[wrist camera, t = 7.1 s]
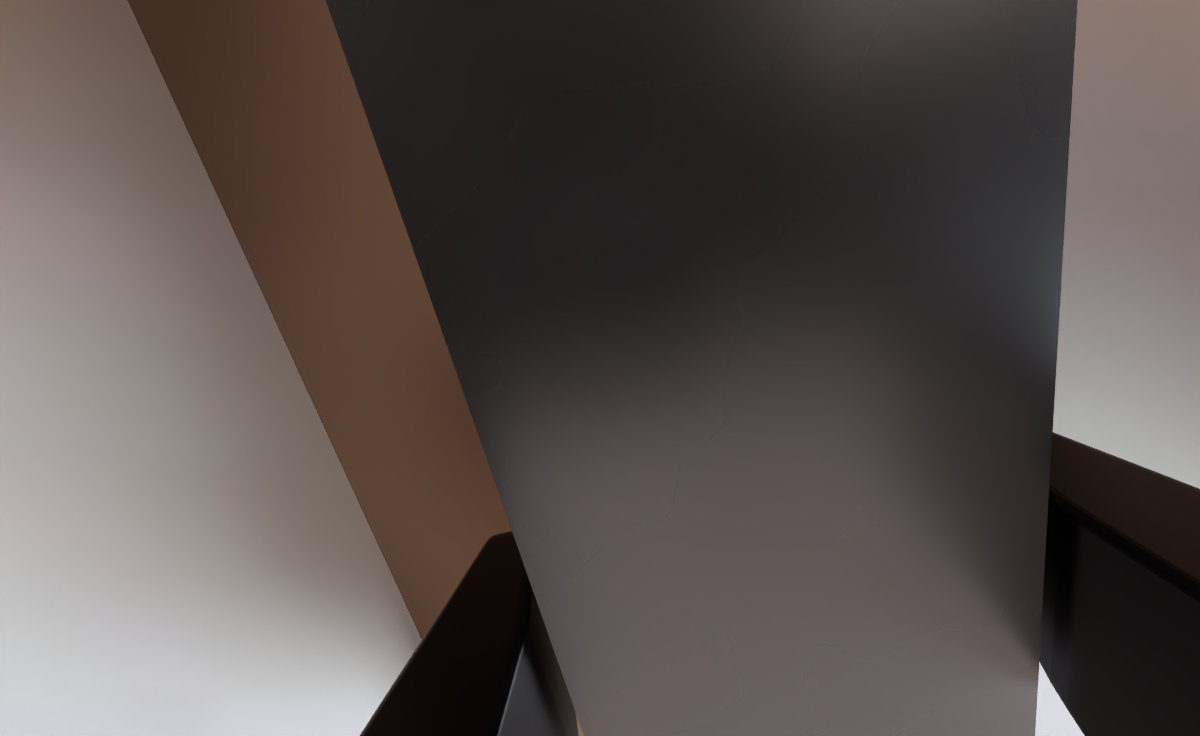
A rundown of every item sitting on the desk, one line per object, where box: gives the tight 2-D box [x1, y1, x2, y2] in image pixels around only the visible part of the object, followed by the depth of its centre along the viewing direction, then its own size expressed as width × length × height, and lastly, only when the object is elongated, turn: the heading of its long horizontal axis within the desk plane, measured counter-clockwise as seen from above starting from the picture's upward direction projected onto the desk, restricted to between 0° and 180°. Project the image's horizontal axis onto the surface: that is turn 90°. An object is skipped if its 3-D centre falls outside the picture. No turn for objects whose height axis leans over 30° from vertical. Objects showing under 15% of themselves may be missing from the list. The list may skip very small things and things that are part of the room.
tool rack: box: [128, 0, 584, 736], centre depth 12 cm, size 12×22×5 cm, turn 12°
